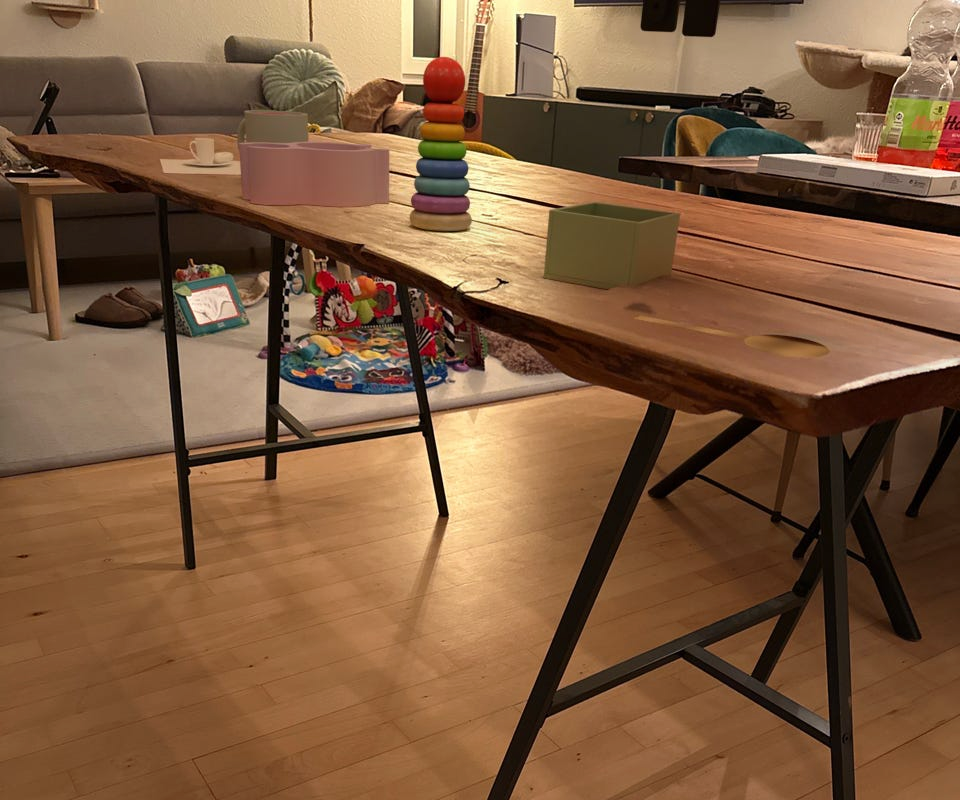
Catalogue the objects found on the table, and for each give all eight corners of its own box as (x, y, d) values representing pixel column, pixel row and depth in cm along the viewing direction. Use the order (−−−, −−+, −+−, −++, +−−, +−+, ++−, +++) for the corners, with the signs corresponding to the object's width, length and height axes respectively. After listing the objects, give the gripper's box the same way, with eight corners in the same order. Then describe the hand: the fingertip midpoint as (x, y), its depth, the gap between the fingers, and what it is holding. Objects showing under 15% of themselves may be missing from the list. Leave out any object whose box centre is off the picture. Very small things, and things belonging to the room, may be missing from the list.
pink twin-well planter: (260, 207, 129) (257, 150, 125) (233, 194, 138) (229, 140, 134) (397, 206, 138) (397, 151, 134) (363, 193, 147) (363, 142, 143)
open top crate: (670, 279, 103) (680, 213, 99) (631, 293, 95) (641, 223, 92) (586, 265, 107) (593, 201, 103) (543, 278, 100) (549, 209, 96)
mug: (322, 188, 149) (320, 115, 144) (276, 192, 143) (272, 115, 138) (264, 178, 156) (260, 107, 151) (217, 181, 150) (211, 107, 145)
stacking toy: (484, 230, 124) (493, 59, 114) (437, 234, 119) (442, 57, 109) (443, 220, 128) (448, 56, 118) (396, 224, 123) (398, 53, 114)
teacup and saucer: (232, 163, 171) (230, 137, 168) (237, 168, 164) (235, 142, 162) (181, 162, 168) (178, 135, 166) (183, 167, 162) (181, 140, 160)
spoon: (837, 354, 79) (839, 344, 79) (814, 372, 74) (816, 361, 74) (651, 319, 86) (652, 310, 86) (619, 333, 81) (620, 323, 81)
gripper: (718, -243, 71) (682, 31, 80) (786, -192, 84) (748, 39, 93) (625, -235, 74) (600, 28, 83) (704, -187, 87) (675, 36, 96)
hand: (678, 34), depth 88 cm, fingers open, 9 cm apart
